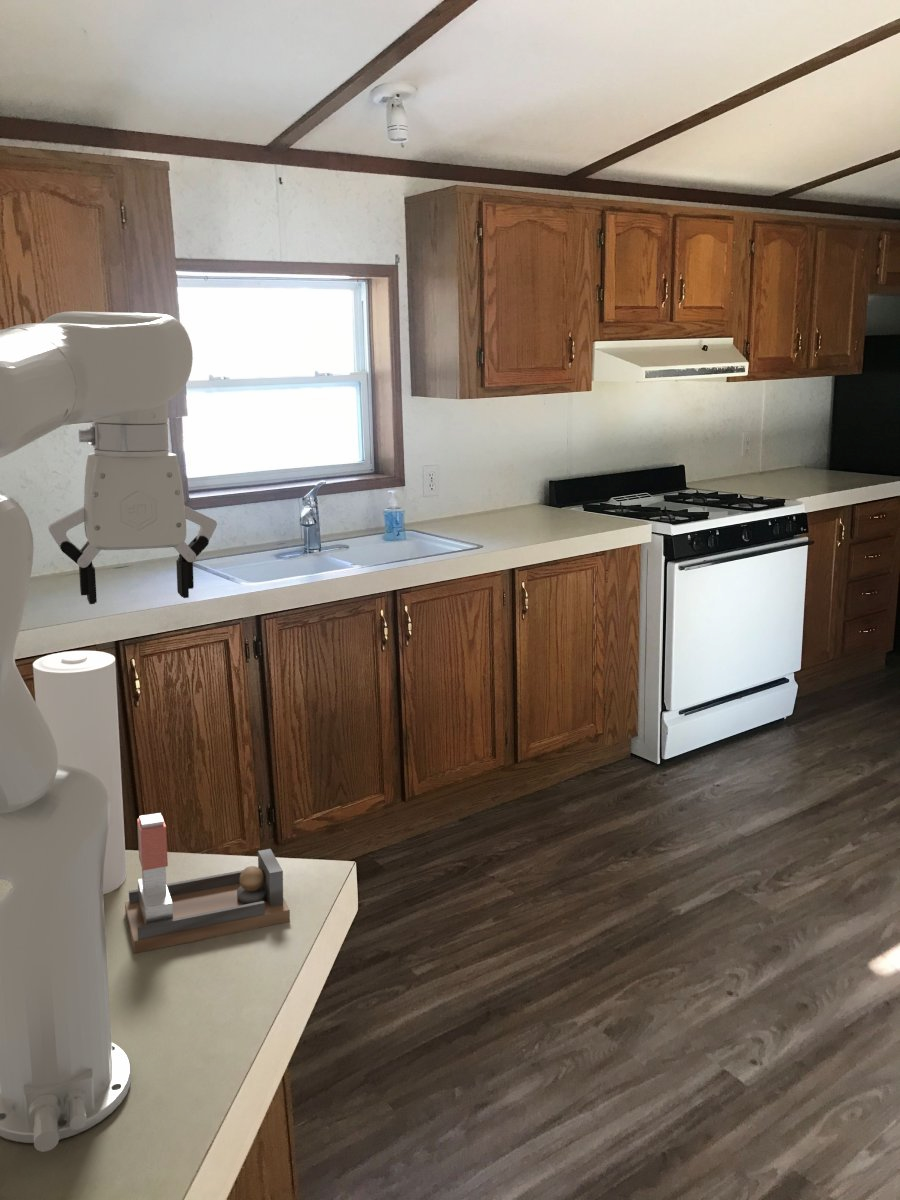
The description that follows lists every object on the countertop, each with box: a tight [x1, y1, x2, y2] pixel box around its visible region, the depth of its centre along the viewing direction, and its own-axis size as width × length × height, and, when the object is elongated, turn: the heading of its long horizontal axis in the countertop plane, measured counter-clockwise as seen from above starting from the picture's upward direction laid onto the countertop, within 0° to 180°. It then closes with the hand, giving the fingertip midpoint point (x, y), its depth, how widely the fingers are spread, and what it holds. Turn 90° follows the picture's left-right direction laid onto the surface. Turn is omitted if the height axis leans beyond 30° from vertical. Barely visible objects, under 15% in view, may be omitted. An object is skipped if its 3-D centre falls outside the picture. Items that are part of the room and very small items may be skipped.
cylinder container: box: [32, 650, 127, 896], centre depth 122 cm, size 9×9×30 cm
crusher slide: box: [136, 812, 173, 924], centre depth 113 cm, size 7×3×12 cm, turn 24°
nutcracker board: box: [124, 848, 291, 954], centre depth 117 cm, size 9×18×6 cm, turn 114°
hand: (138, 598), depth 106 cm, fingers open, 9 cm apart
